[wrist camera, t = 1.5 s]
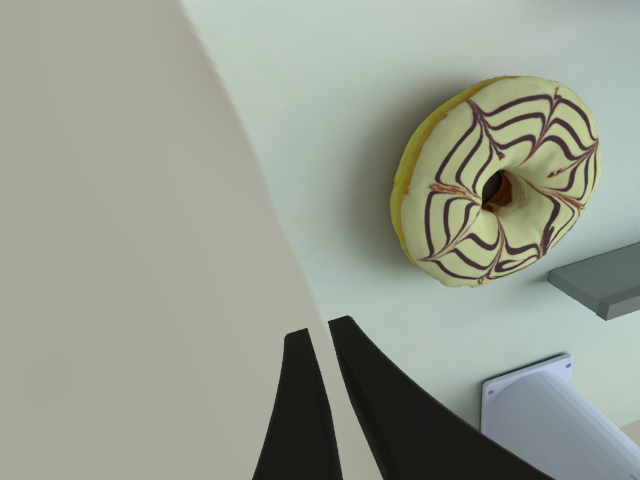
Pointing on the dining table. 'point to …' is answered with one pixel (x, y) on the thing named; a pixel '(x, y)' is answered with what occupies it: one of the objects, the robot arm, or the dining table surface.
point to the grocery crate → (603, 282)
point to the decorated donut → (480, 164)
